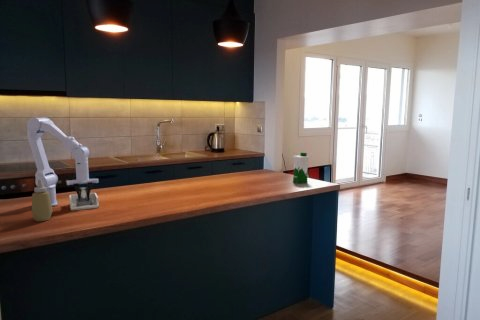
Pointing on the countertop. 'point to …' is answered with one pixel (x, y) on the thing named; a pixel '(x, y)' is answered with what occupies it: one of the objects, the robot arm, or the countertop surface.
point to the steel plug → (83, 194)
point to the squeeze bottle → (41, 203)
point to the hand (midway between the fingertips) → (83, 197)
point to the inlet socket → (83, 202)
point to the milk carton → (300, 168)
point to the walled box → (94, 205)
